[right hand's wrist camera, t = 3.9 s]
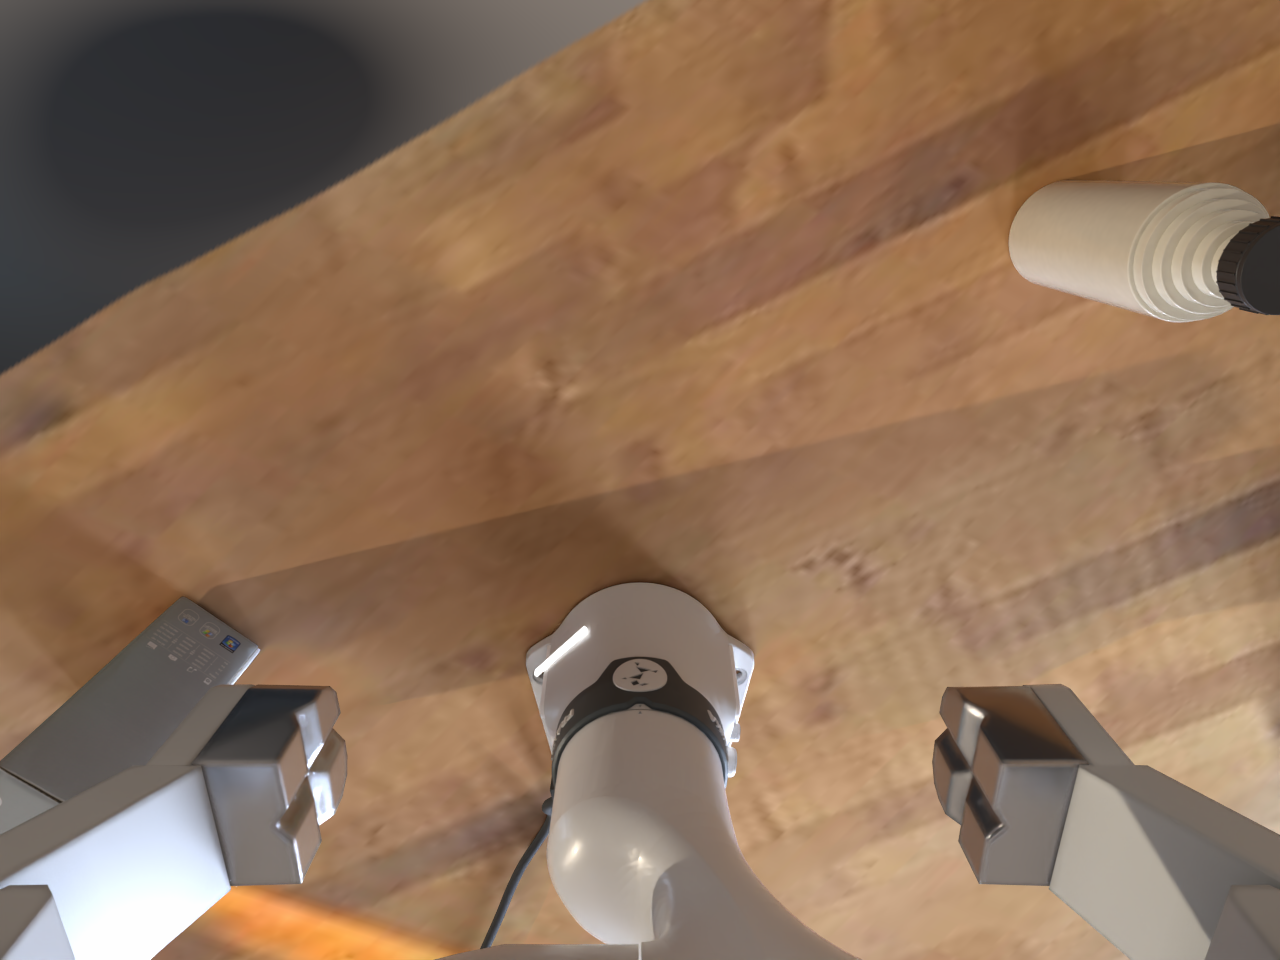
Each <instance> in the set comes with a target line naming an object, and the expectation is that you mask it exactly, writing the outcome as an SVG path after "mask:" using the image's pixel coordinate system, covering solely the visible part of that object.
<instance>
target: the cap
mask: <svg viewBox="0 0 1280 960" xmlns="http://www.w3.org/2000/svg"><path fill="white" fill-rule="evenodd" d="M1218 262H1219V263H1218V266H1217V271H1216V273H1217V276H1216V277H1217V281H1216V283H1217V284H1218V288H1219V292H1220V293H1221V294H1222V296H1223V297H1224V300H1226V301H1228V302H1229V303H1230V304H1231V306H1234V307H1238V308H1239V309H1240V310H1244V311H1248V312H1253V313H1257V314H1258V313H1260V314H1265V315H1280V217H1276V216H1271V218H1266V219H1260V220H1259V221H1257V222H1254V223H1250V224H1249V225H1248V226H1247V227H1245V228H1244V229H1242V230H1240V231H1239V233H1237V234H1236V235H1235V236H1234V237H1233V238H1232V239H1230V242H1229V243H1228V244H1227V246H1226V247H1225V249H1223V253H1222V255H1221V256H1220V260H1219V261H1218Z"/></svg>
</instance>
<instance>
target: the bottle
mask: <svg viewBox="0 0 1280 960" xmlns="http://www.w3.org/2000/svg"><path fill="white" fill-rule="evenodd" d="M1266 218H1270V216H1269V214H1268V212H1267V211H1266V209H1265V207H1264V206H1263V205H1262V204H1261V203H1260V202H1259V201H1258V200H1257V199H1256V198H1255V197H1253V196H1252V195H1250V194H1248V193H1246V192H1244V191H1243V190H1241V189H1239V188H1237V187H1235V186H1232V185H1229V184H1224V183H1212V182H1156V181H1099V180H1063V181H1058V182H1054V183H1051V184H1049V185H1047V186H1045V187H1043V188H1041V189H1039V190H1038V191H1037V192H1035V193H1034V194H1033V195H1032V196H1030V197H1029V198H1028V199H1027V200H1026V201H1025V203H1024V204H1023V205H1022V206H1021V208H1020V209H1019V211H1018V212H1017V214H1016V216H1015V218H1014V220H1013V223H1012V226H1011V229H1010V234H1009V252H1010V257H1011V260H1012V262H1013V264H1014V266H1015V268H1016V269H1017V271H1018V272H1019V273H1020V274H1021V275H1022V276H1023V277H1024V278H1025V279H1027V280H1028V281H1030V282H1032V283H1034V284H1037V285H1041V286H1044V287H1048V288H1051V289H1055V290H1058V291H1062V292H1065V293H1069V294H1072V295H1076V296H1079V297H1083V298H1086V299H1090V300H1094V301H1097V302H1101V303H1104V304H1108V305H1111V306H1115V307H1118V308H1122V309H1125V310H1129V311H1132V312H1136V313H1140V314H1143V315H1147V316H1150V317H1154V318H1157V319H1161V320H1164V321H1169V322H1191V321H1196V320H1203V319H1208V318H1212V317H1214V316H1217V315H1220V314H1222V313H1224V312H1226V311H1228V310H1230V309H1231V308H1233V307H1234V306H1231V304H1230V303H1229V302H1228V301H1226V300H1224V297H1223V296H1222V294H1221V293H1220V292H1219V288H1218V284H1217V283H1216V281H1217V277H1216V276H1217V273H1216V271H1217V266H1218V263H1219V262H1218V261H1219V260H1220V256H1221V255H1222V253H1223V249H1225V247H1226V246H1227V244H1228V243H1229V242H1230V239H1232V238H1233V237H1234V236H1235V235H1236V234H1237V233H1239V231H1240V230H1242V229H1244V228H1245V227H1247V226H1248V225H1249V224H1250V223H1254V222H1257V221H1259V220H1260V219H1266Z"/></svg>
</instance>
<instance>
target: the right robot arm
mask: <svg viewBox="0 0 1280 960" xmlns="http://www.w3.org/2000/svg"><path fill="white" fill-rule="evenodd" d="M526 668H527V671H528V674H529V678H530V681H531V685H532V688H533V692H534V695H535V698H536V702H537V705H538V709H539V712H540V716H541V719H542V722H543V726H544V729H545V733H546V736H547V739H548V743H549V746H550V750H551V753H552V757H551V760H553V761H552V779H551V786H550V792H551V796H552V797H550V798H549V799H547V800H546V801H545V802H544V803H543V805H542V811H543V812H544V813H545V814H547V818H546V820H545V823H544V824H543V826H542V828H541V830H540V831H539V833H538V834H537V836H536V837H535V839H534V840H533V842H532V843H531V845H530V846H529V847H528V849H527V850H526V852H525V854H524V855H523V857H522V858H521V860H520V862H519V863H518V865H517V867H516V869H515V871H514V873H513V875H512V877H511V879H510V881H509V883H508V885H507V888H506V890H505V892H504V895H503V897H502V900H501V902H500V905H499V907H498V910H497V912H496V914H495V917H494V919H493V921H492V924H491V926H490V928H489V930H488V933H487V935H486V937H485V939H484V942H483V944H482V946H481V948H480V949H479V950H474V951H469V952H464V953H459V954H455V955H451V956H447V957H443V958H439V959H435V960H862V959H860V958H858V957H856V956H854V955H852V954H850V953H848V952H846V951H844V950H842V949H841V948H839V947H837V946H836V945H834V944H832V943H831V942H829V941H828V940H826V939H824V938H823V937H821V936H820V935H818V934H817V933H816V932H814V931H813V930H812V929H810V928H809V927H807V926H806V925H805V924H804V923H802V922H801V921H800V920H799V919H798V918H796V917H795V916H794V915H793V914H792V913H791V912H789V911H788V910H787V909H786V908H785V907H784V906H783V905H782V904H781V903H780V902H779V901H778V900H777V899H776V898H775V897H774V896H773V895H772V894H771V892H770V891H769V890H768V889H767V888H766V887H765V886H764V885H763V884H762V882H761V881H760V880H759V878H758V877H757V876H756V875H755V873H754V872H753V871H752V869H751V868H750V866H749V865H748V863H747V862H746V860H745V858H744V856H743V854H742V852H741V850H740V848H739V845H738V842H737V839H736V836H735V832H734V828H733V824H732V821H731V816H730V812H729V807H728V802H727V797H726V791H725V788H726V785H727V779H728V777H733V776H734V774H735V771H736V765H737V751H736V749H734V747H730V746H731V743H732V742H738V741H739V738H740V724H737V722H738V719H739V716H740V712H741V709H742V705H743V702H744V699H745V695H746V692H747V688H748V685H749V681H750V678H751V675H752V671H753V668H754V654H753V652H752V650H751V649H750V648H749V647H748V646H746V645H745V644H743V643H742V642H740V641H739V640H737V639H735V638H734V637H732V636H730V635H728V634H727V633H726V632H725V631H724V630H723V629H722V628H721V626H720V625H719V624H718V622H717V621H716V619H715V618H714V617H713V615H712V614H711V613H710V612H709V611H708V610H707V609H706V608H705V607H704V606H703V605H702V604H701V603H700V602H698V601H697V600H696V599H694V598H693V597H691V596H690V595H688V594H686V593H684V592H682V591H680V590H677V589H675V588H672V587H668V586H665V585H660V584H655V583H643V582H637V583H625V584H620V585H615V586H612V587H608V588H606V589H603V590H600V591H598V592H596V593H594V594H592V595H591V596H589V597H587V598H586V599H584V600H583V601H582V602H580V603H579V604H578V605H577V606H576V607H575V608H574V609H573V610H572V611H571V612H570V613H569V614H568V615H567V617H566V618H565V619H564V621H563V622H562V624H561V625H560V626H559V628H558V629H557V630H556V631H555V632H554V633H553V634H552V635H550V636H548V637H546V638H545V639H543V640H541V641H540V642H538V643H537V644H535V645H534V646H532V647H531V648H530V649H529V650H528V652H527V654H526ZM736 670H739V671H740V673H738V674H736ZM543 671H544V674H542V672H543ZM339 715H340V708H339V703H338V698H337V693H336V691H335V690H334V689H332V688H331V687H330V686H299V685H256V686H255V685H218V686H215V687H212V688H210V689H209V690H208V691H207V693H206V694H205V695H204V696H203V697H202V698H201V700H200V701H199V702H198V703H197V704H196V706H195V707H194V708H193V709H192V710H191V711H190V713H189V714H188V715H187V716H186V717H185V719H184V720H183V721H182V722H181V723H180V725H179V726H178V727H177V728H176V729H175V730H174V732H173V733H172V734H171V735H170V736H169V738H168V739H167V740H166V741H165V742H164V744H163V745H162V746H161V747H160V748H159V749H158V751H157V752H156V753H155V754H154V755H153V757H152V758H151V759H150V760H149V761H148V762H147V764H146V765H136V766H131V767H129V768H127V769H125V770H123V771H121V772H119V773H118V774H116V775H114V776H112V777H110V778H108V779H106V780H104V781H102V782H100V783H98V784H96V785H95V786H93V787H91V788H89V789H87V790H85V791H83V792H81V793H79V794H77V795H75V796H73V797H72V798H70V799H68V800H66V801H64V802H62V803H60V804H58V805H56V806H54V807H52V808H51V809H49V810H47V811H45V812H43V813H41V814H39V815H37V816H35V817H33V818H31V819H29V820H28V821H26V822H24V823H22V824H20V825H18V826H16V827H14V828H12V829H10V830H8V831H7V832H5V833H3V834H1V835H0V960H150V959H151V958H152V957H153V956H154V955H156V954H157V953H158V952H159V951H160V950H161V949H163V948H164V947H165V946H166V945H167V944H168V943H170V942H171V941H172V940H173V939H174V938H175V937H177V936H178V935H179V934H180V933H181V932H182V931H184V930H185V929H186V928H187V927H188V926H189V925H190V924H192V923H193V922H194V921H195V920H196V919H197V918H199V917H200V916H201V915H202V914H203V913H204V912H206V911H207V910H208V909H209V908H210V907H211V906H213V905H214V904H215V903H216V902H217V901H218V900H220V899H221V898H222V897H223V896H224V895H225V894H226V893H228V892H229V891H230V890H231V887H230V886H243V885H278V884H301V883H302V881H303V879H304V876H305V874H306V872H307V870H308V868H309V866H310V864H311V862H312V860H313V858H314V856H315V854H316V852H317V850H318V848H319V845H320V843H321V841H322V840H321V835H320V829H319V825H320V824H321V823H323V822H324V821H326V820H327V819H328V818H330V817H331V816H332V815H334V814H335V812H336V810H337V807H338V805H339V803H340V801H341V798H342V796H343V791H344V786H345V782H346V777H347V751H346V744H345V740H344V739H343V738H342V737H341V736H340V735H339V734H338V733H337V732H336V731H335V730H334V729H333V726H334V724H335V722H336V720H337V719H338V717H339ZM940 715H941V717H942V719H943V720H944V722H945V724H946V726H947V729H946V730H945V731H944V732H943V733H942V734H941V735H940V736H939V737H938V738H937V739H936V740H935V744H934V752H933V760H932V764H933V775H934V784H935V788H936V791H937V795H938V799H939V801H940V803H941V805H942V807H943V810H944V812H945V814H946V815H948V816H949V817H950V818H952V819H953V820H954V821H956V822H957V823H959V824H960V825H961V829H960V835H959V840H958V841H959V843H960V845H961V848H962V850H963V852H964V854H965V856H966V858H967V860H968V862H969V864H970V866H971V868H972V870H973V872H974V874H975V876H976V878H977V880H978V882H979V884H1001V885H1036V886H1049V890H1050V891H1052V892H1053V893H1054V894H1055V895H1056V896H1057V897H1059V898H1060V899H1061V900H1062V901H1063V902H1064V903H1065V904H1067V905H1068V906H1069V907H1070V908H1071V909H1072V910H1074V911H1075V912H1076V913H1077V914H1078V915H1079V916H1081V917H1082V918H1083V919H1084V920H1085V921H1086V922H1088V923H1089V924H1090V925H1091V926H1092V927H1093V928H1094V929H1096V930H1097V931H1098V932H1099V933H1100V934H1101V935H1103V936H1104V937H1105V938H1106V939H1107V940H1108V941H1110V942H1111V943H1112V944H1113V945H1114V946H1115V947H1116V948H1118V949H1119V950H1120V951H1121V952H1122V953H1123V954H1125V955H1126V956H1127V957H1128V958H1129V959H1130V960H1280V835H1279V834H1277V833H1275V832H1273V831H1271V830H1269V829H1267V828H1265V827H1264V826H1262V825H1260V824H1258V823H1256V822H1254V821H1252V820H1250V819H1248V818H1246V817H1245V816H1243V815H1241V814H1239V813H1237V812H1235V811H1233V810H1231V809H1229V808H1227V807H1225V806H1224V805H1222V804H1220V803H1218V802H1216V801H1214V800H1212V799H1210V798H1208V797H1206V796H1204V795H1203V794H1201V793H1199V792H1197V791H1195V790H1193V789H1191V788H1189V787H1187V786H1185V785H1183V784H1182V783H1180V782H1178V781H1176V780H1174V779H1172V778H1170V777H1168V776H1166V775H1164V774H1162V773H1161V772H1159V771H1157V770H1155V769H1153V768H1151V767H1149V766H1145V765H1134V764H1133V763H1132V761H1131V760H1130V759H1129V758H1128V757H1127V755H1126V754H1125V753H1124V752H1123V751H1122V750H1121V748H1120V747H1119V746H1118V745H1117V744H1116V742H1115V741H1114V740H1113V739H1112V738H1111V736H1110V735H1109V734H1108V733H1107V732H1106V731H1105V729H1104V728H1103V727H1102V726H1101V725H1100V723H1099V722H1098V721H1097V720H1096V719H1095V718H1094V716H1093V715H1092V714H1091V713H1090V712H1089V710H1088V709H1087V708H1086V707H1085V706H1084V704H1083V703H1082V702H1081V701H1080V700H1079V699H1078V697H1077V696H1076V695H1075V694H1074V693H1073V691H1072V690H1071V689H1070V688H1068V687H1066V686H1064V685H1062V684H1044V685H1023V686H994V687H947V688H946V690H945V692H944V694H943V696H942V701H941V707H940ZM548 834H549V837H548V845H547V863H548V870H549V874H550V877H551V880H552V883H553V885H554V888H555V890H556V892H557V894H558V895H559V897H560V899H561V900H562V902H563V904H564V905H565V907H566V908H567V909H568V911H569V912H570V914H571V915H572V916H573V918H574V919H575V920H576V921H577V922H578V924H579V925H580V926H581V927H582V928H583V929H585V930H586V931H587V932H589V933H590V934H591V935H592V936H594V937H596V938H597V939H599V940H600V941H602V942H604V943H605V944H503V945H498V946H493V947H491V945H492V943H493V940H494V938H495V936H496V934H497V932H498V929H499V927H500V925H501V923H502V920H503V918H504V916H505V913H506V911H507V909H508V906H509V904H510V901H511V899H512V896H513V894H514V892H515V889H516V887H517V885H518V883H519V881H520V879H521V877H522V875H523V873H524V871H525V869H526V867H527V866H528V864H529V862H530V861H531V859H532V858H533V856H534V855H535V853H536V852H537V850H538V849H539V847H540V846H541V844H542V843H543V841H544V840H545V838H546V837H547V835H548Z"/></svg>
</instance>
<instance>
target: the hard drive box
mask: <svg viewBox="0 0 1280 960" xmlns="http://www.w3.org/2000/svg"><path fill="white" fill-rule="evenodd" d="M259 651H260V649H259V648H258V645H256V644H255V643H253V642H252V641H250V640H249V639H248V638H246V637H244V636H243V635H241V634H240V633H238V632H237V631H235V630H234V629H232V628H231V627H229V626H228V625H227V624H225V623H224V622H222V621H221V620H219V619H218V618H216V617H215V616H213V615H212V614H210V613H209V612H207V611H206V610H204V609H203V608H201V607H200V606H198V605H197V604H195V603H194V602H192V601H191V600H189V599H188V598H186V597H181V598H180V599H178V600H177V601H176V602H175V603H174V604H173V605H172V606H170V607H169V608H168V609H167V610H166V611H165V612H164V613H163V614H161V615H160V616H159V617H158V618H157V619H156V620H155V621H154V622H153V623H151V624H150V625H149V626H148V627H147V628H146V629H145V630H144V631H143V632H142V633H140V634H139V635H138V636H137V637H136V638H135V639H134V640H133V641H132V642H131V643H129V644H128V645H127V646H126V647H125V648H124V649H123V650H122V651H121V652H120V653H119V654H118V655H117V656H116V657H114V658H113V659H112V660H111V661H110V662H109V663H108V664H107V665H106V666H105V667H104V668H102V669H101V670H100V671H99V672H98V673H97V674H96V675H95V676H94V677H93V678H92V679H90V680H89V681H88V682H87V683H86V684H85V685H84V686H83V687H82V688H81V689H80V690H78V691H77V692H76V693H75V694H74V695H73V696H72V697H71V698H70V699H69V700H67V701H66V702H65V703H64V704H63V705H62V706H61V707H60V708H59V709H57V710H56V711H55V712H54V713H53V714H52V715H51V716H50V717H49V718H48V719H46V720H45V721H44V722H43V723H42V724H41V725H40V726H39V727H38V728H36V729H35V730H34V731H33V732H32V733H31V734H30V735H29V736H28V737H26V738H25V739H24V740H23V741H22V742H21V743H20V744H19V745H18V746H16V747H15V748H14V749H13V750H12V751H11V752H10V753H9V754H8V755H6V756H5V757H4V758H3V759H2V760H1V761H0V835H1V834H3V833H5V832H7V831H8V830H10V829H12V828H14V827H16V826H18V825H20V824H22V823H24V822H26V821H28V820H29V819H31V818H33V817H35V816H37V815H39V814H41V813H43V812H45V811H47V810H49V809H51V808H52V807H54V806H56V805H58V804H60V803H62V802H64V801H66V800H68V799H70V798H72V797H73V796H75V795H77V794H79V793H81V792H83V791H85V790H87V789H89V788H91V787H93V786H95V785H96V784H98V783H100V782H102V781H104V780H106V779H108V778H110V777H112V776H114V775H116V774H118V773H119V772H121V771H123V770H125V769H127V768H129V767H131V766H136V765H146V764H147V762H148V761H149V760H150V759H151V758H152V757H153V755H154V754H155V753H156V752H157V751H158V749H159V748H160V747H161V746H162V745H163V744H164V742H165V741H166V740H167V739H168V738H169V736H170V735H171V734H172V733H173V732H174V730H175V729H176V728H177V727H178V726H179V725H180V723H181V722H182V721H183V720H184V719H185V717H186V716H187V715H188V714H189V713H190V711H191V710H192V709H193V708H194V707H195V706H196V704H197V703H198V702H199V701H200V700H201V698H202V697H203V696H204V695H205V694H206V693H207V691H208V690H209V689H210V688H212V687H215V686H218V685H233V684H234V683H235V681H236V680H237V679H238V678H239V677H240V675H241V674H242V673H243V672H244V670H245V669H246V668H247V667H248V666H249V664H250V663H251V662H252V661H253V659H254V658H255V657H256V655H257V654H258V653H259Z"/></svg>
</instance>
